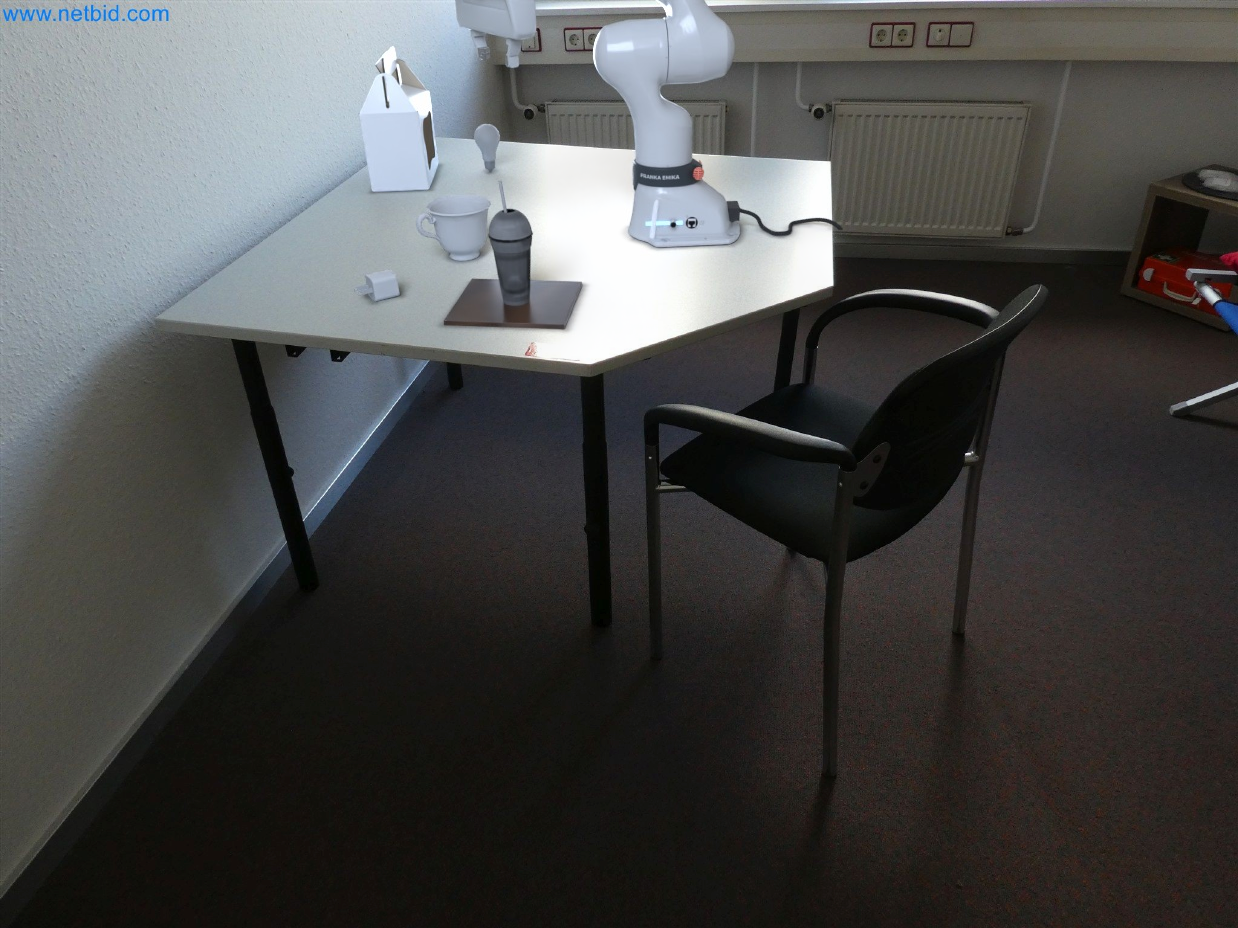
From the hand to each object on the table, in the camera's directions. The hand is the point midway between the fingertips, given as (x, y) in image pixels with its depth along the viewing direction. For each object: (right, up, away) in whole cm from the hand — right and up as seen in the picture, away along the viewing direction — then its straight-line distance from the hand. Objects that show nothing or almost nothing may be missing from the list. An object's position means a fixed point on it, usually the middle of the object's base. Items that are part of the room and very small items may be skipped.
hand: (497, 63), depth 150 cm
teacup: (-11, -27, +23) cm, 37 cm away
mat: (+3, -39, +4) cm, 40 cm away
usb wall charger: (-22, -38, +8) cm, 44 cm away
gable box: (-31, +3, +69) cm, 75 cm away
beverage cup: (+3, -39, +4) cm, 39 cm away
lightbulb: (-12, +5, +72) cm, 73 cm away
